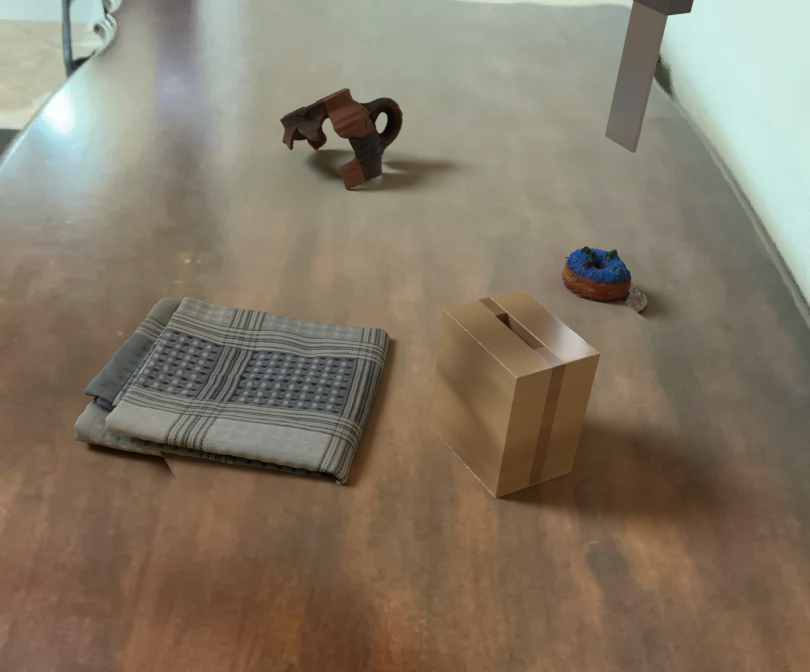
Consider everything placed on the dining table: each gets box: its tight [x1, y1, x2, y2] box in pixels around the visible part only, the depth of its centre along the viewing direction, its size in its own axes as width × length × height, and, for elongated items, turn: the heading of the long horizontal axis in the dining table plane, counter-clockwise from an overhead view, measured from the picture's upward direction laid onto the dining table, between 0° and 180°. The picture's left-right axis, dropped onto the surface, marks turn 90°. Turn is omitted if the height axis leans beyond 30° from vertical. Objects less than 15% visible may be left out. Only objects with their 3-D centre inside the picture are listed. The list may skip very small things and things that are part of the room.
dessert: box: [561, 245, 648, 314], centre depth 81 cm, size 8×7×6 cm
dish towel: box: [73, 296, 391, 486], centre depth 67 cm, size 19×18×3 cm
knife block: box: [429, 288, 601, 499], centre depth 61 cm, size 8×6×10 cm
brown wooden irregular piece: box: [279, 87, 404, 190], centre depth 95 cm, size 12×10×8 cm
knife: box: [604, 0, 695, 154], centre depth 60 cm, size 5×2×18 cm, turn 31°
